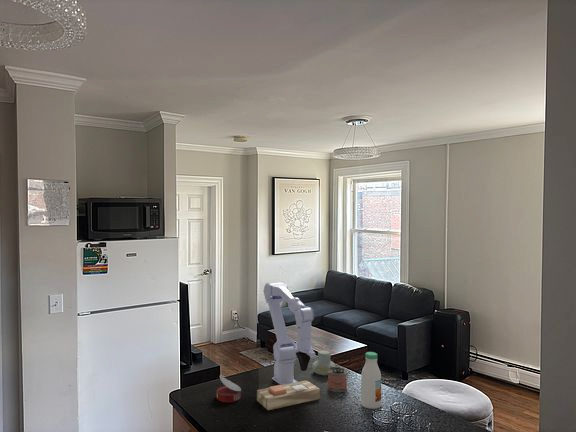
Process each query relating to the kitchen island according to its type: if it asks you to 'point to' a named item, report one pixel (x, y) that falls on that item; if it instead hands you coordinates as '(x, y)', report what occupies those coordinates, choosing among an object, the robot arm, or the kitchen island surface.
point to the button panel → (288, 396)
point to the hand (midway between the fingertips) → (303, 370)
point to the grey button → (299, 387)
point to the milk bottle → (371, 382)
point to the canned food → (228, 391)
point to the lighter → (337, 379)
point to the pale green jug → (323, 363)
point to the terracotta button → (277, 390)
